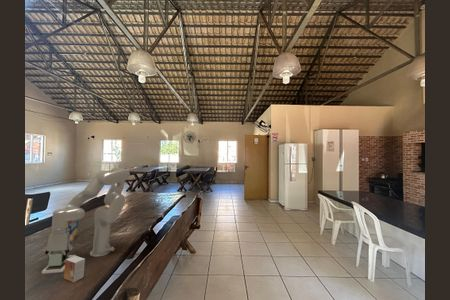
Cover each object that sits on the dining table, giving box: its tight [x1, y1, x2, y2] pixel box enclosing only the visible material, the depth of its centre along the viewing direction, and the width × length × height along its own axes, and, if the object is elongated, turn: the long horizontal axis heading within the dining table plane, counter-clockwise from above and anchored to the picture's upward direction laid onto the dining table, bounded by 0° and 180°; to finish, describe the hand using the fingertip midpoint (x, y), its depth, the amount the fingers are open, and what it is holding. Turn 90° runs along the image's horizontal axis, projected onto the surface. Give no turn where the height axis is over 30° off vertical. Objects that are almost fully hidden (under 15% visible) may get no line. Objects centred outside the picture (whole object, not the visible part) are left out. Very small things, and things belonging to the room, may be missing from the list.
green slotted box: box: [47, 251, 63, 266], centre depth 123 cm, size 6×6×6 cm
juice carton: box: [68, 220, 79, 244], centre depth 160 cm, size 12×8×24 cm, turn 11°
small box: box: [63, 255, 86, 283], centre depth 115 cm, size 8×6×10 cm
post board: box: [41, 254, 77, 275], centre depth 127 cm, size 18×10×10 cm, turn 16°
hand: (57, 261), depth 123 cm, fingers closed on green slotted box, 6 cm apart
